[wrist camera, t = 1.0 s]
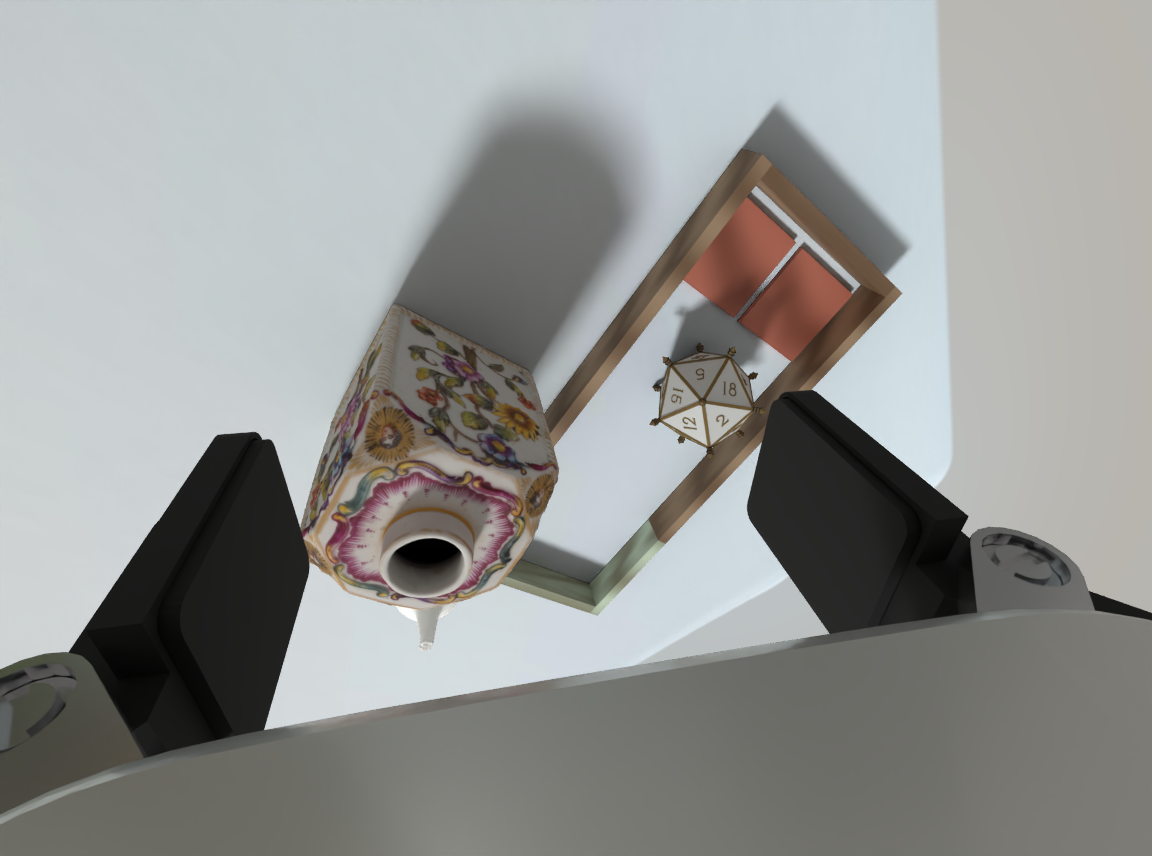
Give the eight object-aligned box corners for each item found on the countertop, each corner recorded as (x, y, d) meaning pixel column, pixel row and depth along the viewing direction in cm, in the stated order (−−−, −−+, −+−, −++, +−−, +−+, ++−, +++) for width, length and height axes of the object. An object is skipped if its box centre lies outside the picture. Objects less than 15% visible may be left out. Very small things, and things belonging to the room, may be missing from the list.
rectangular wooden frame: (741, 149, 37) (762, 154, 35) (877, 281, 45) (902, 293, 43) (448, 542, 51) (448, 566, 48) (591, 592, 59) (597, 615, 56)
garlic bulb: (439, 602, 56) (446, 674, 50) (380, 590, 53) (379, 666, 46) (470, 561, 54) (482, 631, 47) (411, 546, 50) (415, 619, 44)
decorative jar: (464, 477, 47) (473, 660, 33) (328, 425, 42) (265, 615, 27) (537, 367, 43) (585, 521, 28) (395, 294, 38) (363, 436, 23)
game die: (689, 342, 49) (801, 359, 43) (670, 435, 50) (776, 465, 44) (630, 329, 42) (752, 346, 36) (610, 436, 44) (725, 472, 37)
